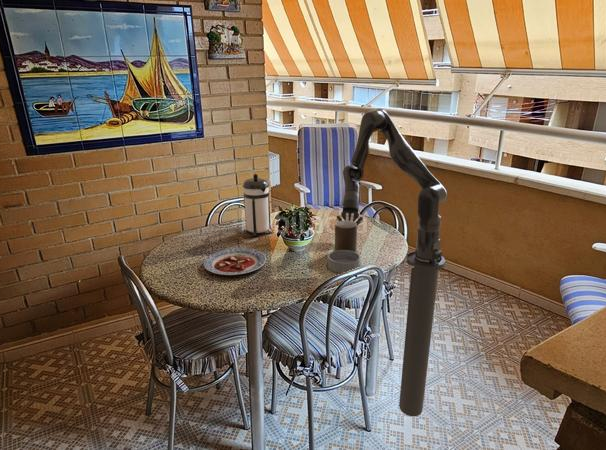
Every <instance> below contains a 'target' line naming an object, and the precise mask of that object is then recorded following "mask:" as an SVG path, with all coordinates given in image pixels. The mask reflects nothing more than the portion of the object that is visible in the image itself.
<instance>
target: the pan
mask: <svg viewBox="0 0 606 450" xmlns="http://www.w3.org/2000/svg"><path fill="white" fill-rule="evenodd" d="M361 261H362V260H361V255H360V254H359V253H358V252H357V251H356V252H354V251H349V250H337V251H335V250H333V251H330V252H329V253H328V254H327V267H328V269H329V270H330V271H331V272H334V273H337V274H344V273H343V272H347V271H349V270H352V269H355V268H357V267H360V268H361Z"/></svg>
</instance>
